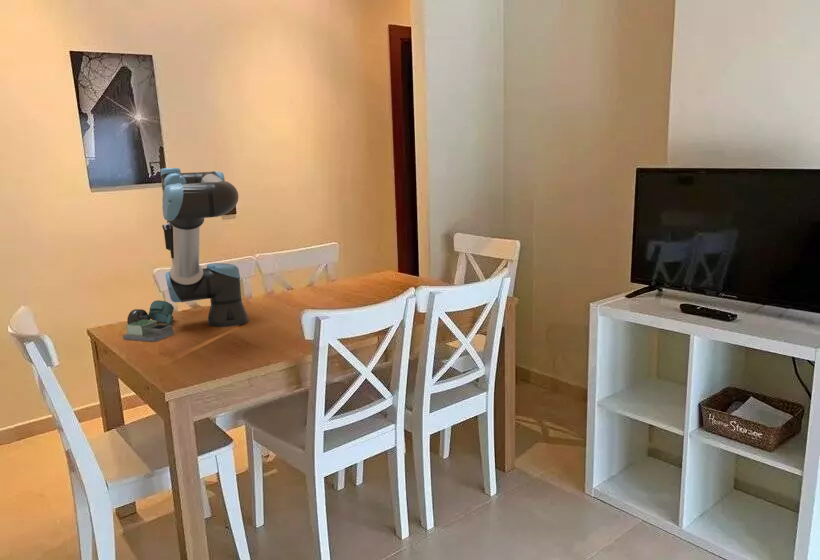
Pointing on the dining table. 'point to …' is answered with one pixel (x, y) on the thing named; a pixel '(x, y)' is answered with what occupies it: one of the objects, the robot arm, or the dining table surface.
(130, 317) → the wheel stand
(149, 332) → the grey base plate
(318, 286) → the dining table surface
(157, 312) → the dark teal rounded block
